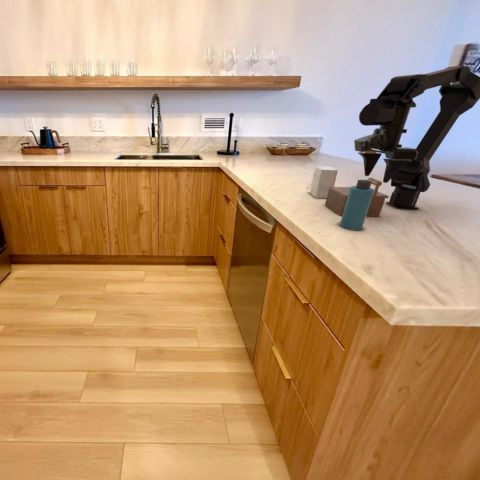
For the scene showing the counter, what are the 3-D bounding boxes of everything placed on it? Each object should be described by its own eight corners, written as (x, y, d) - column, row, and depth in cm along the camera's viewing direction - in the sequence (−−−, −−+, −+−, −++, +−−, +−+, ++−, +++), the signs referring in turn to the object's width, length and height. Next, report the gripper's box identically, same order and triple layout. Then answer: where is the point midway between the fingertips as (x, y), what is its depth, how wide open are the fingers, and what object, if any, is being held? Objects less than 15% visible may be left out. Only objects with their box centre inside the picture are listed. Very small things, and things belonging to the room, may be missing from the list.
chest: (359, 206, 98) (364, 189, 96) (379, 216, 88) (385, 198, 86) (324, 205, 99) (328, 188, 96) (340, 215, 89) (345, 197, 87)
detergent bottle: (353, 222, 83) (366, 178, 78) (366, 230, 78) (382, 183, 73) (335, 223, 83) (347, 178, 78) (348, 230, 78) (362, 183, 73)
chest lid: (367, 189, 95) (371, 175, 94) (388, 198, 86) (393, 183, 84) (329, 188, 96) (332, 175, 94) (345, 197, 87) (349, 182, 85)
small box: (331, 198, 106) (338, 170, 101) (314, 198, 107) (321, 169, 103) (324, 193, 113) (331, 166, 109) (309, 192, 114) (315, 165, 110)
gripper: (346, 123, 91) (333, 172, 98) (384, 126, 74) (366, 186, 81) (382, 123, 91) (367, 173, 97) (429, 126, 74) (407, 186, 80)
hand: (375, 179), depth 89 cm, fingers open, 9 cm apart
